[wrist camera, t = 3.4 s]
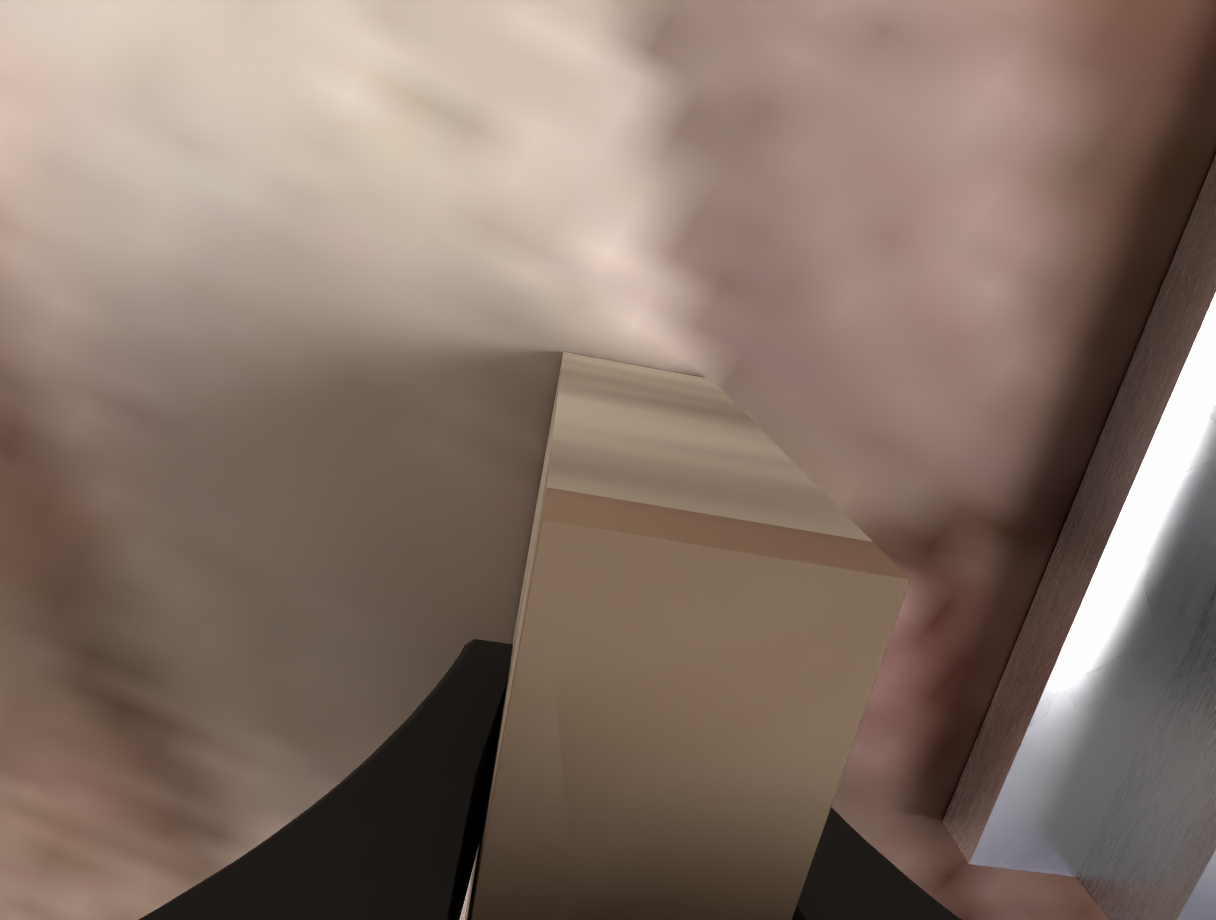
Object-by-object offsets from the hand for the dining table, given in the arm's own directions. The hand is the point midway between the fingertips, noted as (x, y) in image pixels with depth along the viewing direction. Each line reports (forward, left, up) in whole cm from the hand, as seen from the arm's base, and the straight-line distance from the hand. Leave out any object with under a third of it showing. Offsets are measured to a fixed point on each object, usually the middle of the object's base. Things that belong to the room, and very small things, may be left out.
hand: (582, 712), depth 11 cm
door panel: (0, 0, -2) cm, 2 cm away
